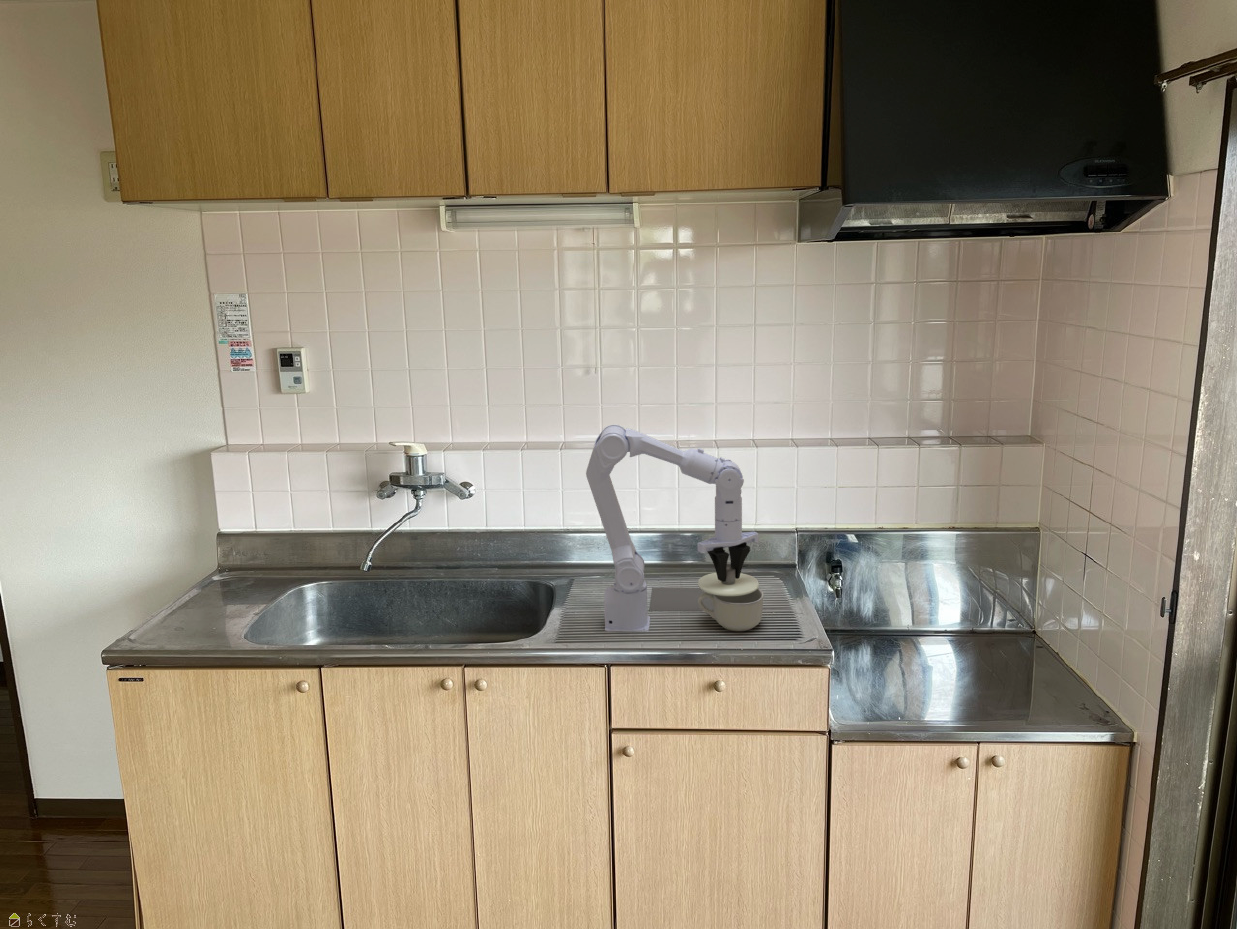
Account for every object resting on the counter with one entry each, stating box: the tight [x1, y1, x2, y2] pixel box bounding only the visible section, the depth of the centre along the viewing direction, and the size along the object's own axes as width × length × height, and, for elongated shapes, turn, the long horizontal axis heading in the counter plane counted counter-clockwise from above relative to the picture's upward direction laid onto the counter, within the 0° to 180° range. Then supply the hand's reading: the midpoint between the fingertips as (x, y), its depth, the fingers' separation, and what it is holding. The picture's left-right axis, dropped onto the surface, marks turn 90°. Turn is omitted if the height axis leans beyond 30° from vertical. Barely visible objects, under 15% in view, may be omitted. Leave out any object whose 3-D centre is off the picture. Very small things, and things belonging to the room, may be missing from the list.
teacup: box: [698, 587, 765, 632], centre depth 199 cm, size 14×11×8 cm
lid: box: [697, 566, 760, 596], centre depth 198 cm, size 13×13×4 cm
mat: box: [648, 587, 714, 612], centre depth 215 cm, size 15×15×1 cm
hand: (728, 578), depth 198 cm, fingers closed on lid, 3 cm apart
